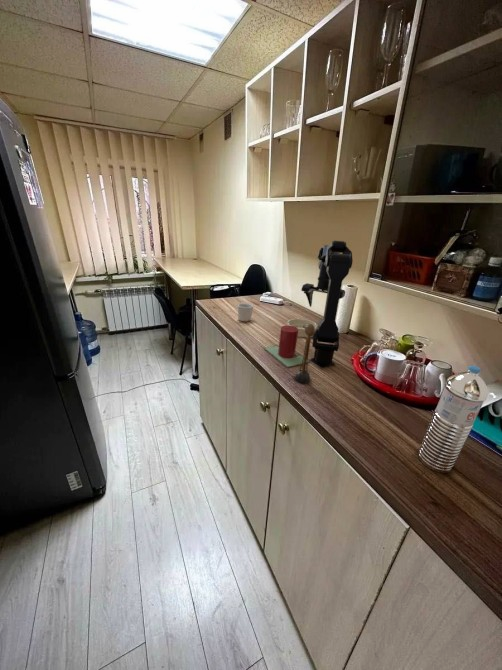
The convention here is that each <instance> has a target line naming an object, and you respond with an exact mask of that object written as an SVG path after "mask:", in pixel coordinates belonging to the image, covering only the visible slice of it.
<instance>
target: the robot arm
mask: <svg viewBox="0 0 502 670" xmlns="http://www.w3.org/2000/svg"><path fill="white" fill-rule="evenodd" d="M317 260H318V264H317V267H318V270H319V272H318V273H319V274H318V276H317V286H315V285H314V284H313V283H309V282H308V283H307V282H306V283H304V284H303V285H302V286H301V289H300V291H301V292H303V294H305V296H306V299H307V302H308V305H309V307H310V308H311V307H312V305H313V295H314V292H317V293H323V294H326V298H325V299H326V300H325V305H324V312H323V317H322V319H321V320H319V321H318V323H317V326H318V327H317V329H316V330H315V333H314V335H313V337H312V345H311V347H312V348H313V349H314V355H313V357H312V358H311V359H310V361H312V362H313V363H315V364H316V365H318V366H319V367H320V368H325V367H329V366H333V365H335V363H336V362H334V361H333V358H334V354H335V352H339V349H340V332H339V327H338V325H337V322H336V319H337V313H338V307H339V302H340V299H343V298H344V297H345V296H346V290H345V289H342V285H343V281H344V279H346V278H347V276H348V275H349V273H350V270H351V269H352V266H353V252H352V250H351V249H350V248H349V247H348V246H347V242H346V241H344V240H331V242H330V244H323V245H322V247H320V248H319V250H318V254H317Z"/></svg>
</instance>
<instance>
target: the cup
mask: <svg viewBox="0 0 502 670" xmlns="http://www.w3.org/2000/svg"><path fill="white" fill-rule="evenodd" d="M253 311H254V304H252V303H248V302H240V303H238V304H237V318H238V320H239V321H240V322H250V321H251V319H252V316H253Z"/></svg>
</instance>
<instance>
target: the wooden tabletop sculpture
mask: <svg viewBox="0 0 502 670" xmlns="http://www.w3.org/2000/svg"><path fill="white" fill-rule="evenodd" d="M303 328H304V329H305V333H306V335H308V337H305V344H304V351H303V356H302V357H303V360H304V362H303V360H302V363H301V364H300V367H299V369H298V371H297V372H296V373H295V378H294V379H295V381H296V382H298V383H300V384H308V383H309V382H310V378H311V376H310V373H309V372H308V363H309V362H308V361H309V355H310V354H309V353H310V347H311V342H312V341H311V340H312V337H310V336H313V335H314V333H315V328H314V326H313V325H312V324H308V325H303ZM306 360H307V363H306Z"/></svg>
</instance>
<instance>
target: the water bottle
mask: <svg viewBox="0 0 502 670" xmlns="http://www.w3.org/2000/svg"><path fill="white" fill-rule="evenodd" d="M481 371H482V368H480V367H479V366H477V365H474V364H473V365H468V369H467V371H464V372H463V371H462V372H458V373H455V374H453V375H451V376H449V377H448V378H447V379H446V381H445V384H444V389H443V391H442V393H441V396H440V398H439V401H438V402H437V406H436V407H435V409H434V411H433V414H432V416H431V418H430V421H429V423H428V426H427V428H426V431H425V433H424V435H423V438H422V440H421V443H420V445H419V448H418V452H417V456H418V459H419V460H420V462H421V463H422V464H423V465H424V466H425V467H426V468H428V469H429V470H431V471H434V472H436V473H440V474H446V473H449V472H450V471H452V469H453V467H454V466H455V464H456V461H457V460H458V458H459V455H460V454H461V452H462V449H463V447H464V445H465V443H466V441H467V439H468V437H469V435H470V432H471V431H472V429H473V428H474V427H473V426H474V423H475V421H476V419H477V416H478V415H479V413H480V411H481V408H482V406H483V404H484V402H485V401H486V400H487V398H488V396H489V390H488V387H487V384H486V382H485V381H484V380H483V378H482V377H480V376H479V375H480V373H481Z"/></svg>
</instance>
